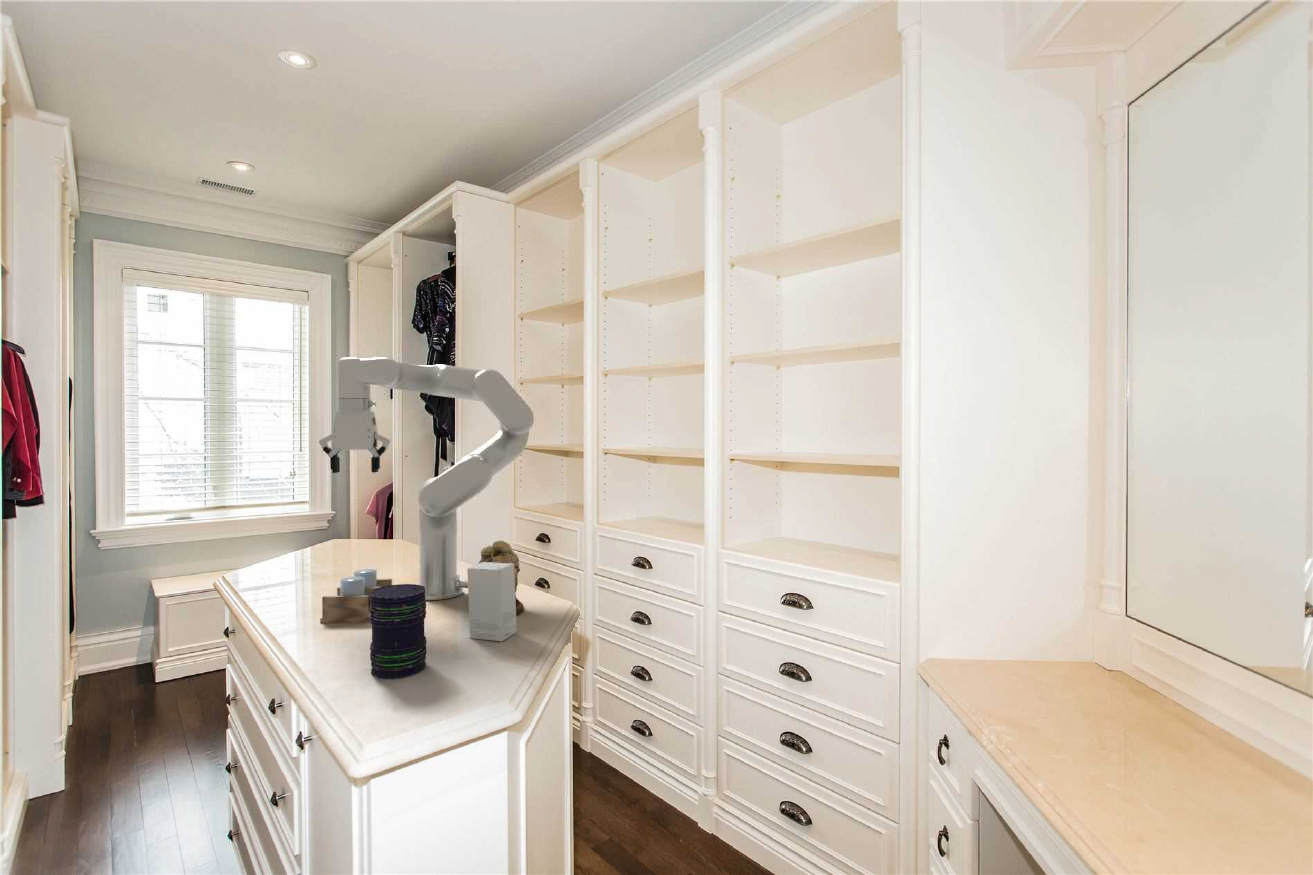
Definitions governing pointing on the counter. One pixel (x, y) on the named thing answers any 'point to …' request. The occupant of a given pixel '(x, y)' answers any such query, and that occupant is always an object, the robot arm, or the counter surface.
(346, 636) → the counter surface
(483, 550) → the brown rough rounded piece
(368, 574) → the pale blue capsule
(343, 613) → the rack
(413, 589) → the storage jar
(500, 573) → the skincare box
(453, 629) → the counter surface
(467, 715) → the counter surface
